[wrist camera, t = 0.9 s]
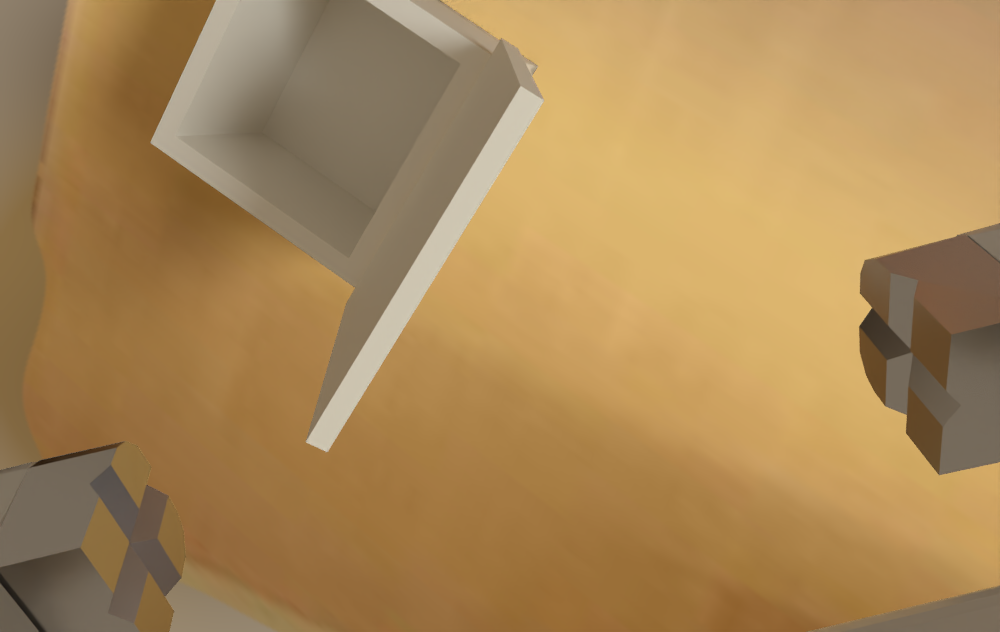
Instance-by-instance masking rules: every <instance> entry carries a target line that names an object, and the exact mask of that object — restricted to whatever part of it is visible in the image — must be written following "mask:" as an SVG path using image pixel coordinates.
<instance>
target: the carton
mask: <svg viewBox="0 0 1000 632" xmlns="http://www.w3.org/2000/svg"><path fill="white" fill-rule="evenodd" d="M499 41H500V40H498V39H497V38H495V37H494V36H492V35H491V34H489V33H488V32H486V31H485V30H483V29H482V28H480V27H479V26H477V25H476V24H474V23H473V22H471V21H470V20H468V19H467V18H465V17H464V16H462V15H461V14H459V13H458V12H456V11H455V10H453V9H452V8H450V7H449V6H447V5H446V4H444V3H443V2H441V1H440V0H216V2H215V4H214V6H213V8H212V10H211V12H210V15H209V17H208V19H207V21H206V23H205V25H204V28H203V30H202V32H201V34H200V36H199V38H198V41H197V43H196V45H195V47H194V49H193V51H192V53H191V56H190V58H189V60H188V62H187V64H186V66H185V69H184V71H183V73H182V75H181V77H180V79H179V82H178V84H177V86H176V88H175V90H174V92H173V95H172V97H171V99H170V101H169V103H168V105H167V107H166V110H165V112H164V114H163V116H162V118H161V120H160V123H159V125H158V127H157V129H156V131H155V133H154V136H153V138H152V140H151V142H150V143H151V144H153V145H154V146H156V147H157V148H158V149H160V150H161V151H163V152H164V153H165V154H167V155H168V156H170V157H171V158H172V159H174V160H175V161H177V162H178V163H180V164H181V165H182V166H184V167H185V168H187V169H188V170H189V171H191V172H192V173H194V174H195V175H197V176H198V177H199V178H201V179H202V180H204V181H205V182H206V183H208V184H209V185H211V186H212V187H213V188H215V189H216V190H218V191H219V192H221V193H222V194H223V195H225V196H226V197H228V198H229V199H230V200H232V201H233V202H235V203H236V204H237V205H239V206H240V207H242V208H243V209H245V210H246V211H247V212H249V213H250V214H252V215H253V216H254V217H256V218H257V219H259V220H260V221H262V222H263V223H264V224H266V225H267V226H269V227H270V228H271V229H273V230H274V231H276V232H277V233H278V234H280V235H281V236H283V237H284V238H286V239H287V240H288V241H290V242H291V243H293V244H294V245H295V246H297V247H298V248H300V249H301V250H302V251H304V252H305V253H307V254H308V255H310V256H311V257H312V258H314V259H315V260H317V261H318V262H319V263H321V264H322V265H324V266H325V267H327V268H328V269H329V270H331V271H332V272H334V273H335V274H336V275H338V276H339V277H341V278H342V279H343V280H345V281H346V282H348V283H349V284H351V285H352V286H353V287H355V288H356V286H357V284H358V282H359V281H360V279H361V277H362V276H363V274H364V272H365V271H366V269H367V267H368V265H369V264H370V262H371V260H372V259H373V257H374V255H375V253H376V252H377V250H378V248H379V247H380V245H381V243H382V241H383V240H384V238H385V236H386V235H387V233H388V231H389V229H390V228H391V226H392V224H393V223H394V221H395V219H396V217H397V216H398V214H399V212H400V211H401V209H402V207H403V205H404V204H405V202H406V200H407V199H408V197H409V195H410V194H411V192H412V190H413V188H414V187H415V185H416V183H417V182H418V180H419V178H420V176H421V175H422V173H423V171H424V170H425V168H426V166H427V164H428V163H429V161H430V159H431V158H432V156H433V154H434V152H435V151H436V149H437V147H438V146H439V144H440V142H441V140H442V139H443V137H444V135H445V134H446V132H447V130H448V128H449V127H450V125H451V123H452V122H453V120H454V118H455V117H456V115H457V113H458V111H459V110H460V108H461V106H462V105H463V103H464V101H465V99H466V98H467V96H468V94H469V93H470V91H471V89H472V87H473V86H474V84H475V82H476V81H477V79H478V77H479V75H480V74H481V72H482V70H483V69H484V67H485V65H486V63H487V62H488V60H489V58H490V57H491V55H492V53H493V51H494V50H495V48H496V46H497V45H498V43H499ZM521 56H522V55H521ZM522 58H523V60H524V62H525V64H526V65H527V67H528V69H529V71H530V73H531V75H533V74H534V72H535V70H536V69H537V67H538V66H537V65H536V64H534V63H533V62H531V61H530V60H528V59H527V58H525V57H524V56H522Z"/></svg>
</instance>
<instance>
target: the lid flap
mask: <svg viewBox="0 0 1000 632" xmlns="http://www.w3.org/2000/svg"><path fill="white" fill-rule="evenodd" d="M543 102H544V99H543V97H542V95H541V93H540V91H539V89H538V87H537V85H536V83H535V81H534V79H533V77H532V75H531V73H530V71H529V69H528V67H527V65H526V64H525V62H524V60H523V58H522V56H521V54H520V52H519V50H518V48H516V47H515V46H513V45H511V44H510V43H508V42H507V41H505V40H504V39H502V38H501V40H500V41H499V43H498V45H497V46H496V48H495V50H494V51H493V53H492V55H491V57H490V58H489V60H488V62H487V63H486V65H485V67H484V69H483V70H482V72H481V74H480V75H479V77H478V79H477V81H476V82H475V84H474V86H473V87H472V89H471V91H470V93H469V94H468V96H467V98H466V99H465V101H464V103H463V105H462V106H461V108H460V110H459V111H458V113H457V115H456V117H455V118H454V120H453V122H452V123H451V125H450V127H449V128H448V130H447V132H446V134H445V135H444V137H443V139H442V140H441V142H440V144H439V146H438V147H437V149H436V151H435V152H434V154H433V156H432V158H431V159H430V161H429V163H428V164H427V166H426V168H425V170H424V171H423V173H422V175H421V176H420V178H419V180H418V182H417V183H416V185H415V187H414V188H413V190H412V192H411V194H410V195H409V197H408V199H407V200H406V202H405V204H404V205H403V207H402V209H401V211H400V212H399V214H398V216H397V217H396V219H395V221H394V223H393V224H392V226H391V228H390V229H389V231H388V233H387V235H386V236H385V238H384V240H383V241H382V243H381V245H380V247H379V248H378V250H377V252H376V253H375V255H374V257H373V259H372V260H371V262H370V264H369V265H368V267H367V269H366V271H365V272H364V274H363V276H362V277H361V279H360V281H359V282H358V284H357V286H356V288H355V289H354V291H353V293H352V294H351V296H350V298H349V300H348V301H347V303H346V306H345V309H344V313H343V316H342V320H341V323H340V327H339V330H338V333H337V337H336V340H335V344H334V347H333V350H332V354H331V357H330V361H329V364H328V368H327V371H326V374H325V378H324V381H323V385H322V388H321V391H320V395H319V398H318V402H317V405H316V409H315V412H314V415H313V419H312V422H311V426H310V429H309V432H308V436H307V439H306V442H307V443H309V444H311V445H313V446H315V447H317V448H320V449H322V450H324V451H326V452H328V450H329V449H330V447H331V445H332V444H333V442H334V440H335V439H336V437H337V436H338V434H339V432H340V431H341V429H342V427H343V426H344V424H345V423H346V421H347V419H348V418H349V416H350V415H351V413H352V411H353V410H354V408H355V406H356V405H357V403H358V402H359V400H360V398H361V397H362V395H363V393H364V392H365V390H366V389H367V387H368V385H369V384H370V382H371V380H372V379H373V377H374V376H375V374H376V372H377V371H378V369H379V368H380V366H381V364H382V363H383V361H384V359H385V358H386V356H387V355H388V353H389V351H390V350H391V348H392V346H393V345H394V343H395V342H396V340H397V338H398V337H399V335H400V333H401V332H402V330H403V329H404V327H405V325H406V324H407V322H408V321H409V319H410V317H411V316H412V314H413V312H414V311H415V309H416V308H417V306H418V304H419V303H420V301H421V299H422V298H423V296H424V295H425V293H426V291H427V290H428V288H429V286H430V285H431V283H432V282H433V280H434V278H435V277H436V275H437V274H438V272H439V270H440V269H441V267H442V265H443V264H444V262H445V261H446V259H447V257H448V256H449V254H450V252H451V251H452V249H453V248H454V246H455V244H456V243H457V241H458V239H459V238H460V236H461V235H462V233H463V231H464V230H465V228H466V227H467V225H468V223H469V222H470V220H471V218H472V217H473V215H474V214H475V212H476V210H477V209H478V207H479V205H480V204H481V202H482V201H483V199H484V197H485V196H486V194H487V192H488V191H489V189H490V188H491V186H492V184H493V183H494V181H495V180H496V178H497V176H498V175H499V173H500V171H501V170H502V168H503V167H504V165H505V163H506V162H507V160H508V158H509V157H510V155H511V154H512V152H513V150H514V149H515V147H516V145H517V144H518V142H519V141H520V139H521V137H522V136H523V134H524V133H525V131H526V129H527V128H528V126H529V124H530V123H531V121H532V120H533V118H534V116H535V115H536V113H537V111H538V110H539V108H540V107H541V105H542V103H543Z"/></svg>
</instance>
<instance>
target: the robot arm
mask: <svg viewBox="0 0 1000 632" xmlns="http://www.w3.org/2000/svg"><path fill="white" fill-rule="evenodd" d="M860 294H861V295H862V296H863V297H864V298H865V300H866V301H867V302H868V303H869V304H870V305H871V307H872V309H871V310H870V312H869V313H868V315H867V316H866V318H865V319H864V320H863V322H862V323H861V325H860V326H859V337H860V354H861V358H862V361H863V365H864V369H865V373H866V376H867V378H868V380H869V382H870V384H871V386H872V388H873V390H874V391H875V393H876V394H877V396H878V397H879V398H880V400H881V401H882V402H883V404H884V405H885V406H886V407H889V408H891V409H894V410H896V411H898V412H901V413H903V414H906V415H907V424H906V434H907V435H908V436H909V437H910V439H911V440H912V441H913V442H914V444H915V445H916V446H917V448H918V449H919V450H920V451H921V453H922V454H923V455H924V456H925V458H926V459H927V460H928V462H929V463H930V464H931V465H932V467H933V468H934V469H935V471H936V472H937V473H938V474H939V475H942V474H947V473H951V472H956V471H961V470H965V469H970V468H975V467H979V466H984V465H988V464H993V463H998V462H1000V223H999V224H996V225H992V226H988V227H985V228H981V229H978V230H974V231H970V232H967V233H963V234H960V235H957V236H956V237H953V238H949V239H945V240H941V241H938V242H934V243H930V244H926V245H922V246H918V247H914V248H910V249H906V250H903V251H899V252H895V253H891V254H887V255H883V256H879V257H875V258H872V259H868V260H865V262H864V264H863V267H862V270H861V274H860ZM150 471H151V466H150V464H149V462H148V461H147V459H146V458H145V456H144V455H143V453H142V452H141V450H140V449H139V447H138V446H137V445H135V444H132V443H129V442H127V441H124V442H120V443H115V444H111V445H106V446H102V447H97V448H93V449H88V450H84V451H79V452H75V453H71V454H66V455H62V456H57V457H53V458H48V459H44V460H40V461H38V462H31V463H27V464H23V465H19V466H15V467H11V468H6V469H3V470H0V632H169V630H170V626H171V622H172V617H173V613H174V610H173V609H172V607H171V606H170V604H169V603H168V601H167V599H166V598H165V596H166V595H167V594H168V593H169V591H170V590H171V589H172V588H173V587H174V586H175V585H176V583H177V582H178V581H179V580H180V579H181V578H182V573H183V568H184V563H185V558H186V553H185V539H184V530H183V527H182V524H181V521H180V518H179V515H178V512H177V510H176V508H175V506H174V505H173V503H172V501H171V499H170V498H169V496H168V495H166V494H164V493H162V492H160V491H158V490H156V489H154V488H152V487H150V486H148V485H146V484H147V481H148V477H149V474H150ZM808 632H1000V586H996V587H991V588H987V589H983V590H979V591H975V592H971V593H967V594H962V595H958V596H954V597H950V598H946V599H941V600H937V601H933V602H929V603H925V604H921V605H916V606H912V607H908V608H904V609H900V610H895V611H891V612H887V613H883V614H879V615H875V616H870V617H866V618H862V619H858V620H854V621H850V622H845V623H841V624H837V625H833V626H829V627H824V628H820V629H816V630H812V631H808Z"/></svg>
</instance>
